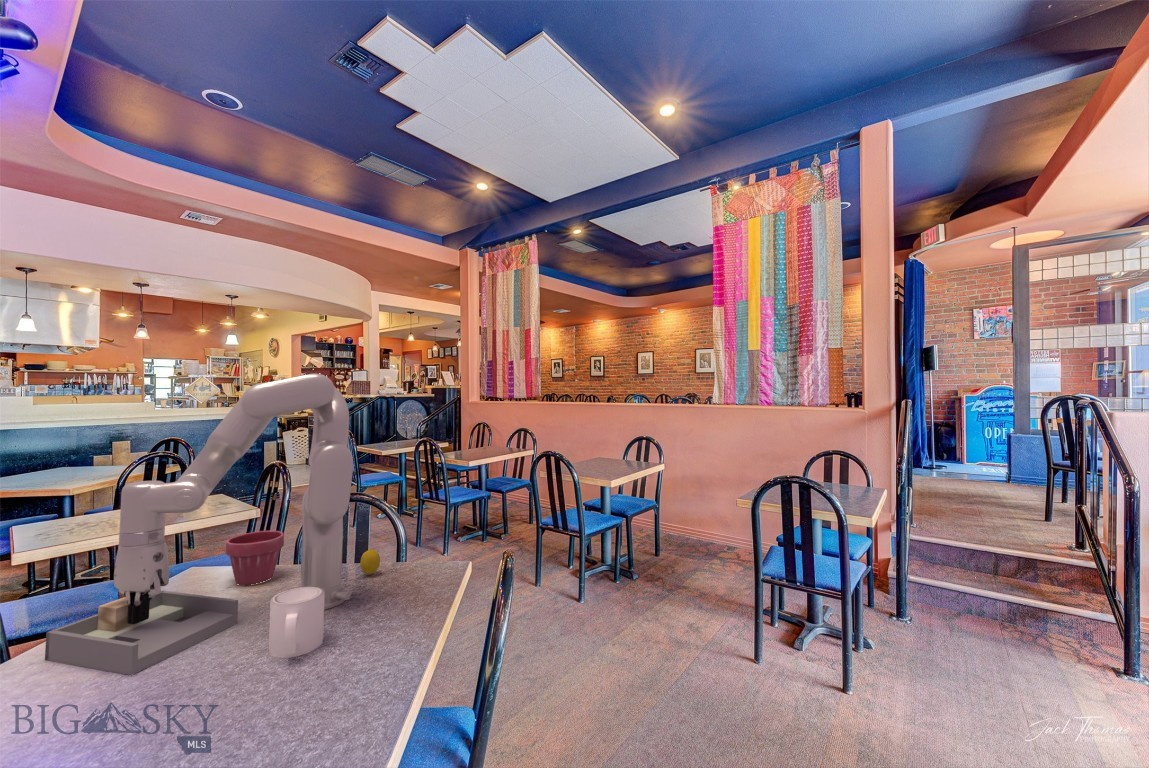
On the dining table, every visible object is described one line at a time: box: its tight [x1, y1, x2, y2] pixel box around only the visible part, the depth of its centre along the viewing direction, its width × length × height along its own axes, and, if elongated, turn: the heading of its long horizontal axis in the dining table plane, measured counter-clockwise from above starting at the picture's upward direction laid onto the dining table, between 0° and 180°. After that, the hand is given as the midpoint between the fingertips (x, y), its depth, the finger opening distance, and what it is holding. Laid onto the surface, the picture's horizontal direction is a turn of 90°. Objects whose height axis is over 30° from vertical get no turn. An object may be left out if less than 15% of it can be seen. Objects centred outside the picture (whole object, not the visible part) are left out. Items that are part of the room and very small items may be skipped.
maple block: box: [97, 596, 134, 632], centre depth 105 cm, size 5×5×5 cm
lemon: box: [359, 548, 381, 575], centre depth 143 cm, size 6×6×8 cm
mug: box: [268, 586, 325, 659], centre depth 100 cm, size 14×10×11 cm
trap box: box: [44, 590, 239, 676], centre depth 103 cm, size 23×22×6 cm
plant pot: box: [225, 530, 285, 586], centre depth 139 cm, size 14×14×13 cm
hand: (138, 621), depth 104 cm, fingers closed
